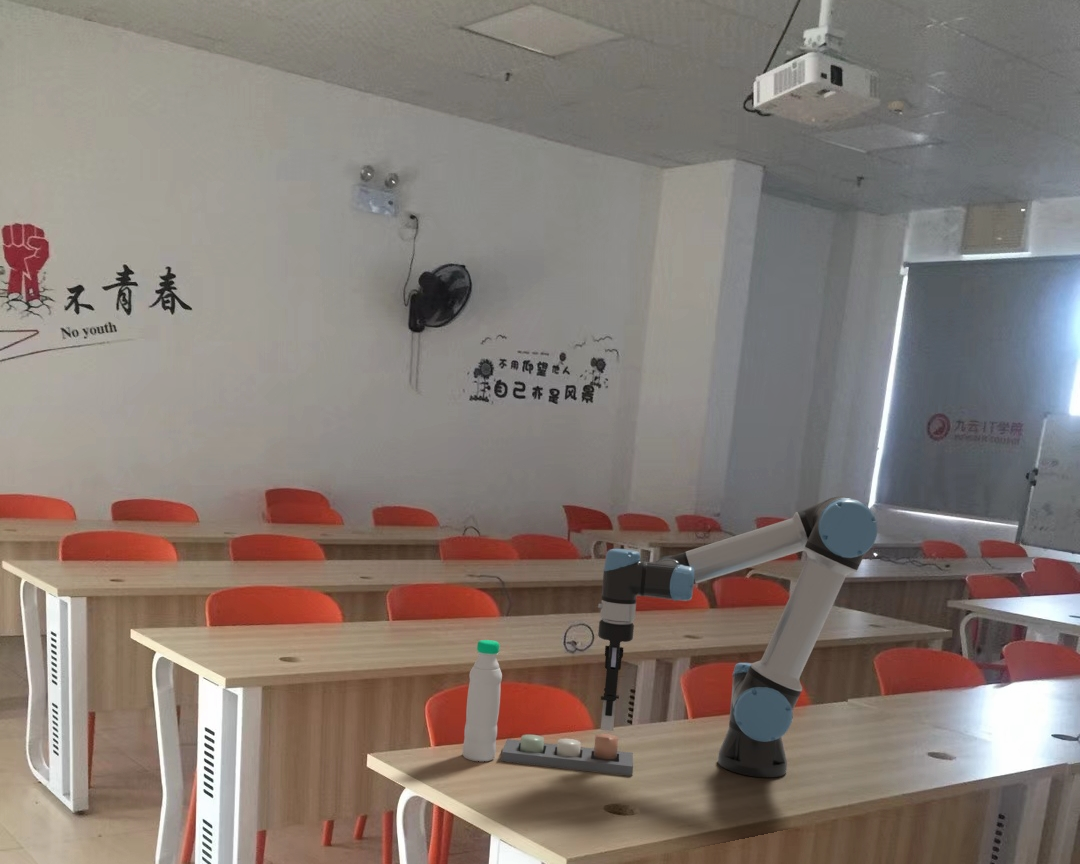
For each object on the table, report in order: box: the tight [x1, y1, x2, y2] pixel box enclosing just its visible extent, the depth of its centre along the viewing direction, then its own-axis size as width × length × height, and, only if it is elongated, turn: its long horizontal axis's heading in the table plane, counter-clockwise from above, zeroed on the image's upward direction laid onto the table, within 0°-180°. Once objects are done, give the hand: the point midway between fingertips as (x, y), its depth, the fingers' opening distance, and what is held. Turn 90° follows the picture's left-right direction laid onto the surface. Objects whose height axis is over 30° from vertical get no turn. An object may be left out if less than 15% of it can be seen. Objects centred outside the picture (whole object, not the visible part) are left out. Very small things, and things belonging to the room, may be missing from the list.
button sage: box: [520, 734, 545, 754], centre depth 231 cm, size 5×5×4 cm
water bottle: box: [462, 639, 503, 763], centre depth 228 cm, size 7×7×25 cm
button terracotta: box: [593, 733, 619, 759], centre depth 229 cm, size 5×5×4 cm
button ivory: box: [557, 738, 582, 758], centre depth 230 cm, size 5×5×4 cm
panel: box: [500, 738, 634, 777], centre depth 230 cm, size 28×10×2 cm, turn 85°
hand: (607, 729), depth 229 cm, fingers closed
